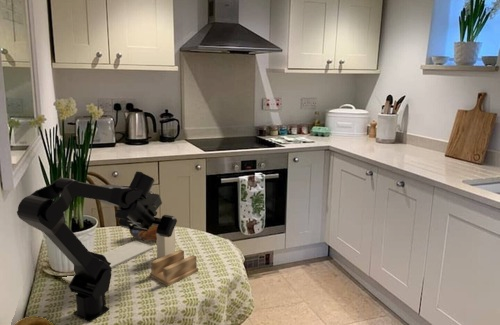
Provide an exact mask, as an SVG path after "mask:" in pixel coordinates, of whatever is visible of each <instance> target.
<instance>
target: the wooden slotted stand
mask: <svg viewBox="0 0 500 325" xmlns="http://www.w3.org/2000/svg"><path fill="white" fill-rule="evenodd" d="M197 272H199V268H198V267H197V256H196V255H194V254H191V255H190V256H187V257H185V251H184V250H183V249H181V248H180V249H178V250H175V252H173V253H171V254H169V255H166V256H164V257H161V258H159V259H157V258H156V259H154V260H152V261H150V273H149V276H150V277H151V278H153V279H155V280H156V281H158V282H161V283H162V284H164V285H166V286H167V287H169V286H171V285H173V284H176V283H178V282H180V281H182V280H184V279H186V278H188V277H189V276H192V275H194V274H196V273H197Z"/></svg>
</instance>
